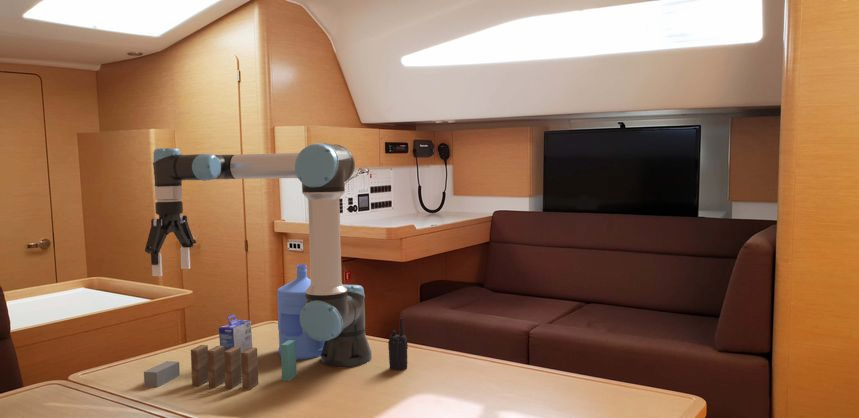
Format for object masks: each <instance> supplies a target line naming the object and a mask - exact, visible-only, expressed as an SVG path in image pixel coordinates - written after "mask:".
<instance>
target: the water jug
mask: <svg viewBox="0 0 859 418" xmlns="http://www.w3.org/2000/svg"><path fill="white" fill-rule="evenodd" d="M307 267H308V266H307V264H297V265H296V278H295V279H294V280H293V279H292V280H291V281H289V282H288V283H286V284H284V285H282V286H280V287H279V288H278V289H277V290H276V291H277V292H276V293H277V295H276V302H277V319H278V321H277V328H278V342H279V343H278V346H279V347H278V354H279V356H280V357H281V344H283V343H285V342H286V341H288V340H296V360H306V359H307V360H308V359H314V358H318V357H321V353H322V350H323V346H324V343H325V341H317V340H314V339H312V338H310V337H309V336H308V335H307V334H306V333H305V332H304V331H303V329H302V327H301V324H300V313H301V310H302V309H303V307H304V306H305V305H306V298H305V291H306V290H307V289H308V288H309V286H310V285H311V280H310V277H309V278H308V273H307V272H308V270H307Z"/></svg>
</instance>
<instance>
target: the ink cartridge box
mask: <svg viewBox="0 0 859 418" xmlns="http://www.w3.org/2000/svg"><path fill="white" fill-rule="evenodd" d="M232 318H234V319H232ZM231 319H232V320H231ZM227 320H228V323H226V324H224V325H222V326H219V327H218V335H219V338H218V339H219V346H224V351H226V350H228V349H230V348H232V347H241V352H243V351H245V350H247V349H249V348H250V347H251V348H253V335H252V320H250V319H237V317H236V315H235V314H231V315H229V316H227Z"/></svg>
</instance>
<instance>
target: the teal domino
mask: <svg viewBox="0 0 859 418" xmlns="http://www.w3.org/2000/svg"><path fill="white" fill-rule="evenodd" d="M280 358H281V359H280V361H281V381H284V382H285V381H286V382H289V381H291V380H293V378H295V377H296V376H297V375H298V372H297V369H298V368H297V359H296V340H288V341H286V342H285V343H283V344H281V356H280Z"/></svg>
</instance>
